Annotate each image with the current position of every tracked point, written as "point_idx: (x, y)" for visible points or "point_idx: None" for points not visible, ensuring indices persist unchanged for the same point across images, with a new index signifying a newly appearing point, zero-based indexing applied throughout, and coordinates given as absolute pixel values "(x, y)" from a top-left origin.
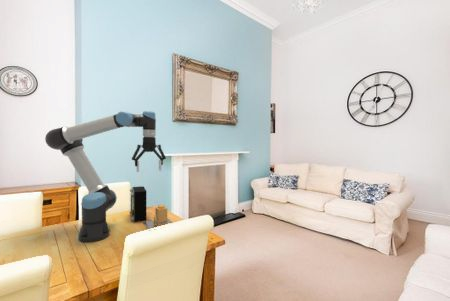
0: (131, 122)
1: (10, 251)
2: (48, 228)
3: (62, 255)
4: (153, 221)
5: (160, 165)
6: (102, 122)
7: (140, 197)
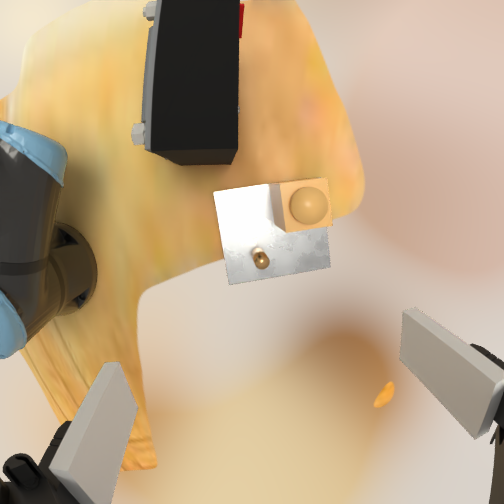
0: None
1: None
2: None
3: (31, 355)
4: (257, 202)
5: (437, 393)
6: None
7: (196, 153)
